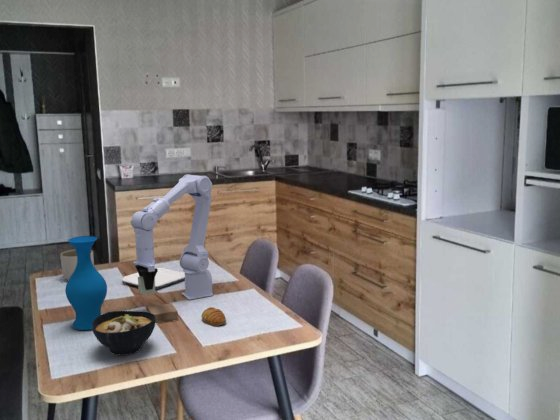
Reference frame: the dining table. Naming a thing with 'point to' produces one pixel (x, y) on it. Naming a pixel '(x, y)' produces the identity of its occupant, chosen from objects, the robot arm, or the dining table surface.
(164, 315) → the base block
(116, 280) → the dining table surface
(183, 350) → the dining table surface
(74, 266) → the planter
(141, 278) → the green block
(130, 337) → the bowl
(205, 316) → the pastry
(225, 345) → the dining table surface
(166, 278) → the plate
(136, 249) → the robot arm
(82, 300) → the vase
